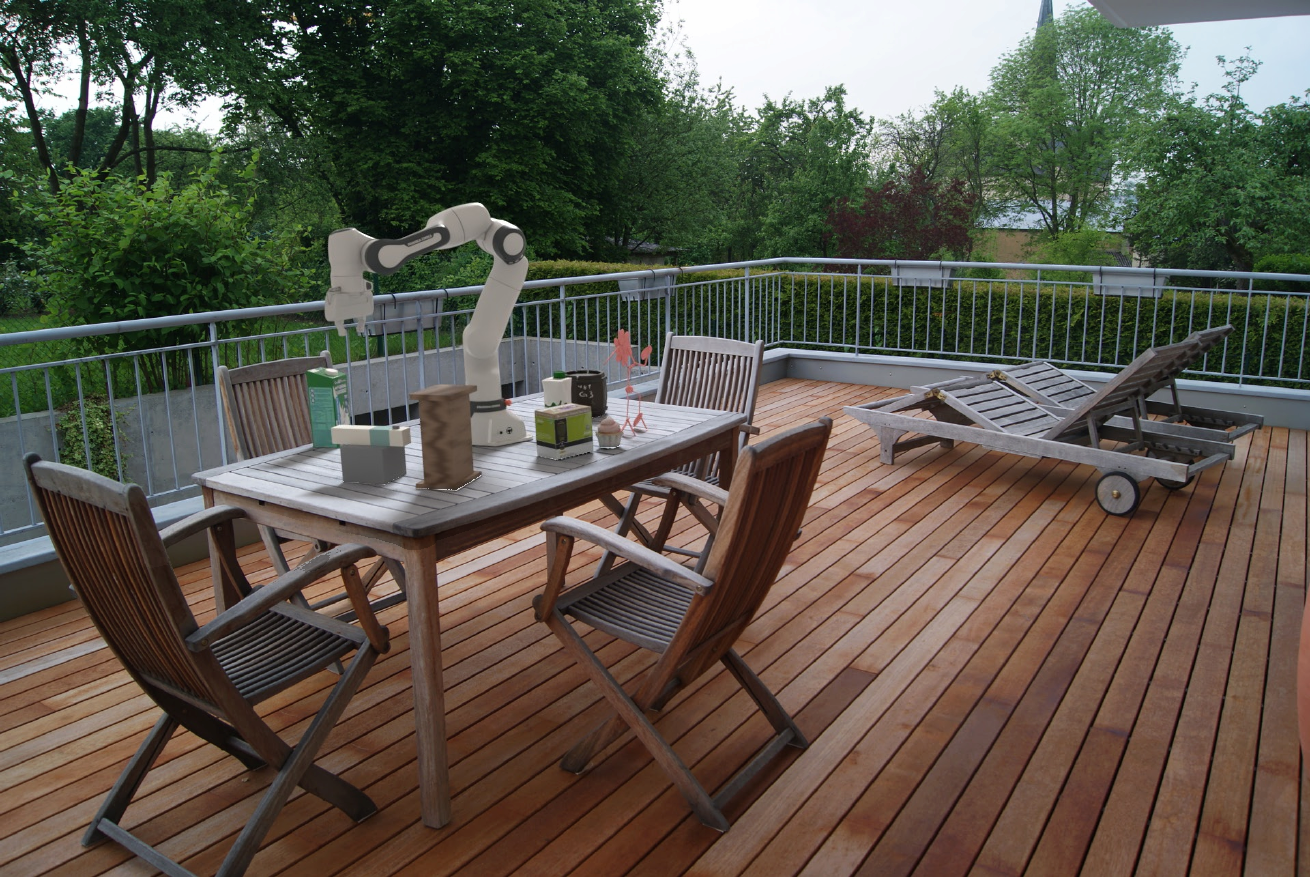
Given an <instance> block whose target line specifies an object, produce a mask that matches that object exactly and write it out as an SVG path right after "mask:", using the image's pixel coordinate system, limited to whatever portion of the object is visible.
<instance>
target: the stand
mask: <svg viewBox="0 0 1310 877" xmlns="http://www.w3.org/2000/svg"><path fill="white" fill-rule="evenodd" d="M476 391H477V385H466V384H441V383H440V384H439V383H438V384H433V385H432V386H428V387H426V388H423V389H420V390H417V391H414V392H411V393H409V394H408V395H409V396H408V397H409V400H411V401H418V412H419V413H418V414H419V426H420V442H421V454H422V456H421V457H422V467H423V468H422V469H423V470H422V471H423V479H422V480H420V481H418V482H416V483H415V489H416V488H427V489H428V488H429V489H447V490H448V489H450V490H451V489H452V490H457V489H458V488H460V487H462V486H464V485H465V484H467V483H469V482H471V481H472V480H473V479H476V478H477V477H479V476H480V475H482V476H483V472H482V470H474V455H473V454H474V453H473V452H474V451H473V445H472V433H471V416H470V398H469V394H471V393H473V392H476ZM476 480H477V479H476Z"/></svg>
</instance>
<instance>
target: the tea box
mask: <svg viewBox="0 0 1310 877" xmlns="http://www.w3.org/2000/svg"><path fill="white" fill-rule="evenodd" d="M534 425H535V427H534V428H535V441H536V442H535V444H536V454H537V457H539V456H542V457H541V458H543V457H546V458H545V459H547V458H553V459H556V460H557V461H559V460H558V459H561V458H565V459H567V458H566V457H569V458H571V457H570V456H573V457H576V456H575V455H578V454H582V455H585V454H584V453H586V452H589V451H593V452H594V451H595V450H594V436H593V433H594V432H593V430H594V429H593V418H592V413H591V407H590V406H584V405H578V404H572V403H569V404H564V405H559V406H554V407H549V408H544V407H543V408H540V409H535V410H534ZM586 454H587V453H586ZM578 456H579V455H578ZM556 460H555V461H556ZM561 460H562V459H561Z"/></svg>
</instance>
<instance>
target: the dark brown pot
mask: <svg viewBox="0 0 1310 877" xmlns="http://www.w3.org/2000/svg"><path fill="white" fill-rule="evenodd" d="M564 372H565V377H568V378H572V380H571V403H572V404H578V405H584V406H590V407H591V413H592V417H595V418H599V417H598V416H600V417H603V416H604V415H605V414H606V411H608V409H609V406H608V386H607V384H608V383H607V380H608V377H607V375H605V372H604V371H602V370H600V369H599V370H598V369H589V370H588V369H577V370H574V369H572V370H567V371H564ZM602 415H603V416H602Z"/></svg>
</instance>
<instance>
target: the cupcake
mask: <svg viewBox="0 0 1310 877" xmlns="http://www.w3.org/2000/svg"><path fill="white" fill-rule="evenodd" d="M621 429H622V428H621V426H620V423H619V422H618V421H617V420H614V418H612V417H611V416H609V415H608V416H607V417H606V418H605V419H603V420H601V422H600V424H599V425H598V427H597V431H594V434H595V436H596V438H597V441H598V447H599V448H600V447H617V446H619V445H620V446H621V441H622V438H623V436H624V433H625V432H624V430H623V431H621ZM620 446H619V447H620Z"/></svg>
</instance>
